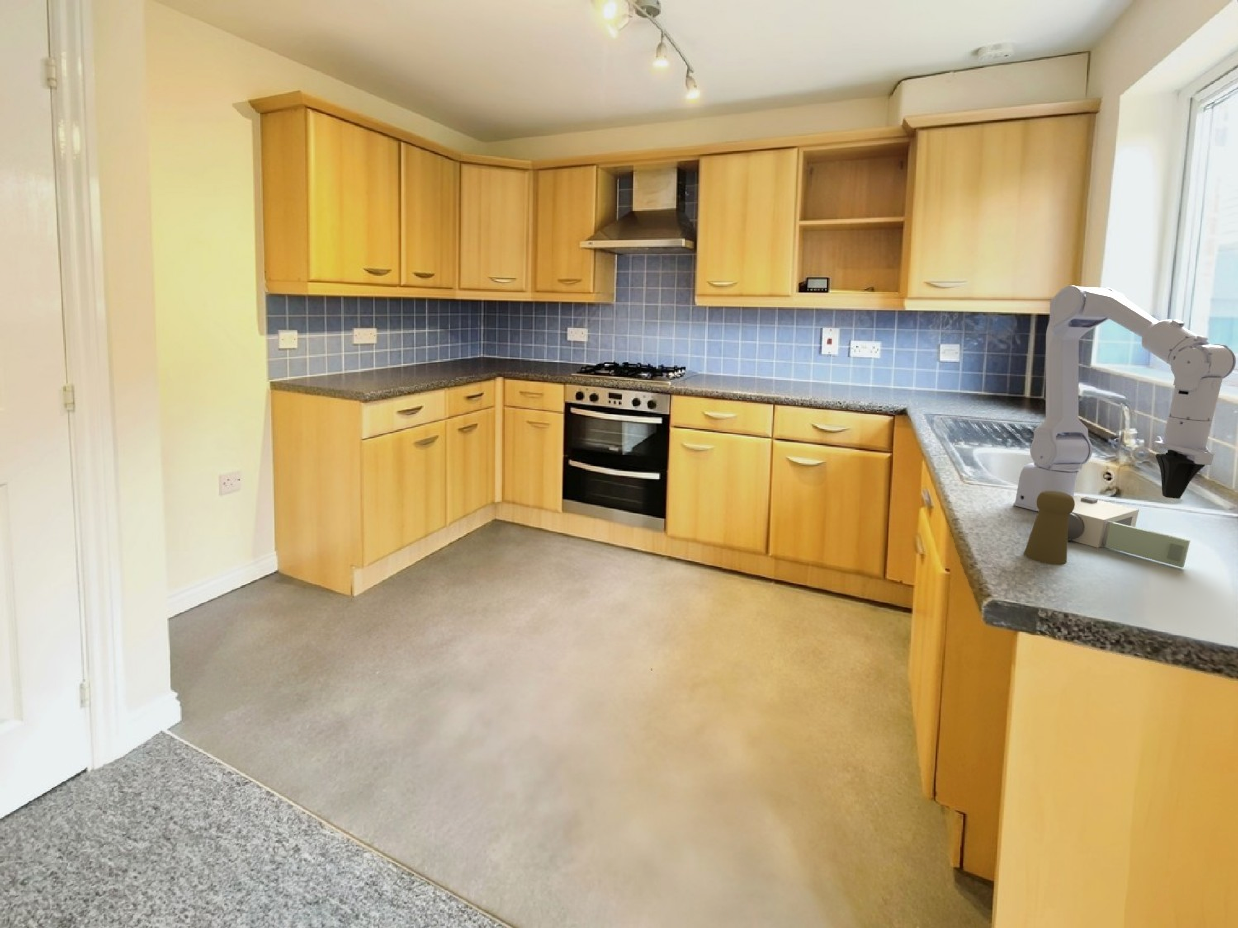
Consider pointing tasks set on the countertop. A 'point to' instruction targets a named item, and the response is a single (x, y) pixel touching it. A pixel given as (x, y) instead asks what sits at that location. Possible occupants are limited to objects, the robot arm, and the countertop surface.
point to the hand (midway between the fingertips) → (1171, 497)
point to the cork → (1050, 528)
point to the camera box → (1096, 519)
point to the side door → (1146, 543)
